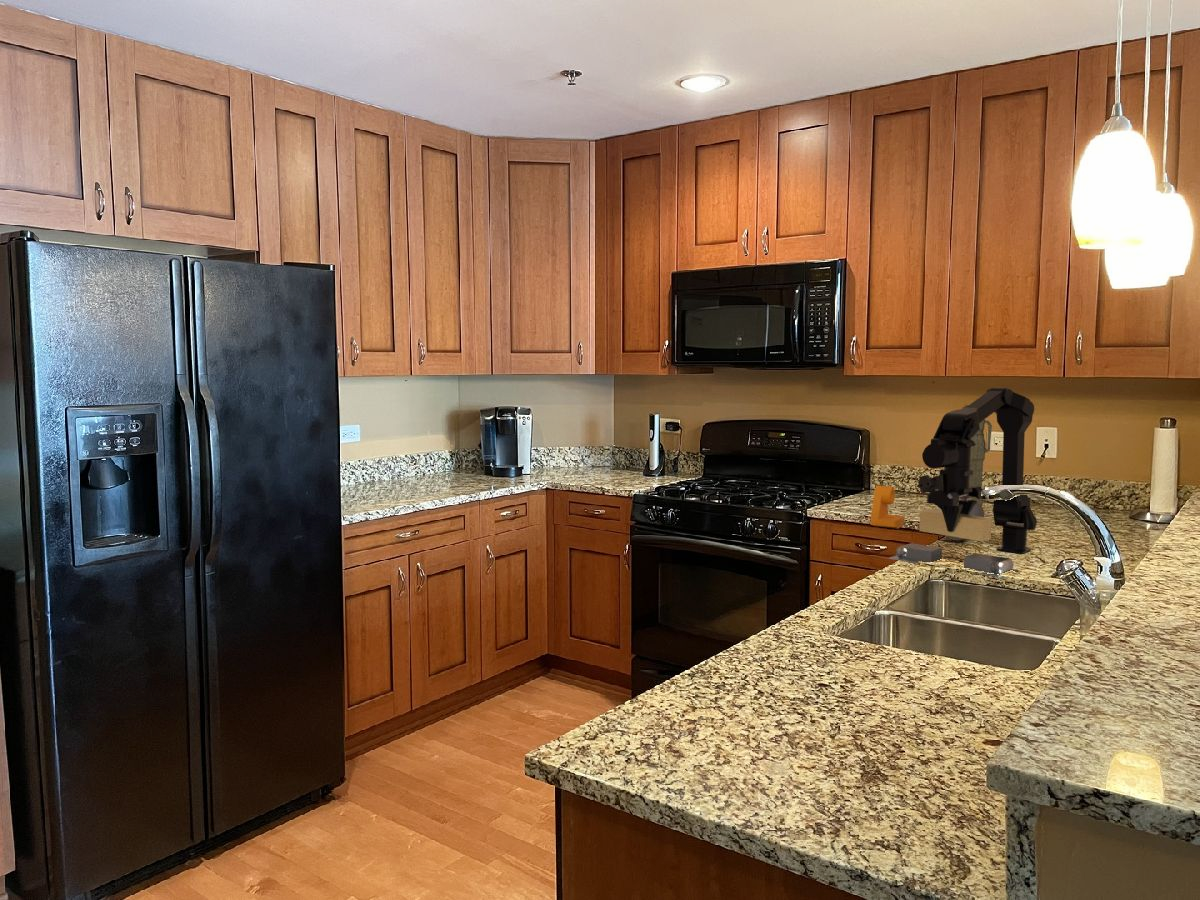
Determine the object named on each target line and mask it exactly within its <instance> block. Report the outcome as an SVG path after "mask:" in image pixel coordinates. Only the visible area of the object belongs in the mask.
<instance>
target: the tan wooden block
mask: <svg viewBox="0 0 1200 900" xmlns="http://www.w3.org/2000/svg"><path fill="white" fill-rule="evenodd" d="M992 519H993V518H991V517H988V516H987V517H986V516H984V517H980V516H973V515H966V514H960V515H959V517H958V520H957V523H956V525H955V528H954V530H953V532H948V530H947V527H946V523H945V519H944V516H943V513H942V510H938V509H937V510H936V509H931V508H929V509H928V508H927V509H923V510H920V511H919V532H923V533H930V534H935V535H936V534H937V535H941V536H942V535H943V536H945V535H947V536H953V537H959V538H965V539H967V540H971V541H976V542H986V541H989V540H991V539H992V537H991V536H992V535H991V534H992Z"/></svg>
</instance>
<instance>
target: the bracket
mask: <svg viewBox="0 0 1200 900" xmlns="http://www.w3.org/2000/svg"><path fill="white" fill-rule="evenodd" d="M895 497H896V489H895V486H891V485H890V486H888V485H876V486H875V488H874V493H873V500H872V508H871V512H870V513H871V515H870V525H871V526H872V527H878V528H879V527H880V528H888V529H896V530H897V529H901V527H903V526H904V525H903V524H904V523H905V515H898V514H889V506H888V505H894V504H895V503H894V502H895V499H896V498H895Z"/></svg>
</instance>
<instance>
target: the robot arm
mask: <svg viewBox="0 0 1200 900" xmlns="http://www.w3.org/2000/svg"><path fill="white" fill-rule="evenodd" d="M962 408H963V407H962ZM962 408H959V409H955V410H952V411H949V412H946V413H945V414H944V415H943V416H942V418H941V420H940V422H939V425H938V427H937V429H936V431H935V433H934V435H933V438H931V439H930V444H928V445H926V446H925V448H924V450H923V452H922V454H921V456H922V457H921V458H922V460H923V461H922V462H923V463H924V464H925V466H926V467H928V468H930V469H940V470H939V475H938V476H934V477H931V476H930V475H928V474H925V475H922V476H919V479H918V481H917V488H918V489H920V490H921V493H922V494H923V495H924V494H926V493H927V494H926V503H927V504H931V505H934V506H936V507H937V508H939V509H940V511H942V513H943V516H944V519H945V523H946V527H947V530H948V532H953V530H954V528H955V525H956V523H957V520H958V517H959V515H960V514H966V515H969V514H970V512H971V510H972V509H973V507H974V505H975V504H976V503H977V501H975V500H971V497H976V498H977V499H981V498H982V496H981V490H982V489H983V487H982V488H981V487H980V486H971V485H969V482H970V475H973V470H970V460H971V446H975V445H976V444H975V442H974V441H972V440H971V438H972V437H973V436H974V435H975V434H976V433H977V431H978V430H979V429H980V423H981V422H982V421H983V420H984V419H985V420H986V419H987V418H988V417H990V416H991V415H993V414H996V423H997V424H998V426H999V427H1000V429H1001V431H1002V433H1003V435H1002V438H1003V440H1002V442H1003V443H1002V473H1001V474H1002V475H1001V486H1002V485H1023V486H1024V467H1025V466H1024V465H1025V437H1026V436H1025V434H1026V431H1027V430H1028V428H1029V427H1030V426H1031V424H1032V423H1033V415H1034V412H1035V405H1034V403H1033V402H1032V401H1031V399H1029V397H1026V396H1025V395H1021V394H1019V393H1016V392H1014V391H1013V390H1012V389H1011V388H1008V387H990V388H988V389H987V390H986V392H985V393H983V394H982V395H981V396H979V397H978V398H976V400H974V401H973V402H971V403H970V404H969V406H967V407H966V408H963V409H962ZM942 468H943V469H942ZM1030 501H1031V500H1030V498H1029V496H1028V494H1027V495H1020V496H1017V497H1014V498H1013V499H1011V500H1007V501H1005V500H996V501H993V507H992V514H993V521H994V526H995V527H996V526H997V527H998V526H999V527H1002V538H1001V542H1002V543H1001V546H998V547H996V551H999V552H1000V551H1001V552H1007V553H1014V554H1022V555H1023V554H1026V553H1029V552H1031V551H1032V548H1028V547H1027V539H1028V538H1027V536H1028V531H1035V529H1036V527H1037V522H1038V520H1037V518H1036V516H1035V514H1034V512H1033V510H1032V508H1031V502H1030Z"/></svg>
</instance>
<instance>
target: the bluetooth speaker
mask: <svg viewBox="0 0 1200 900" xmlns="http://www.w3.org/2000/svg"><path fill="white" fill-rule="evenodd" d="M969 515H973V516H980V517H985V511H984V508H983V505H982V506H981V505H980V504H979V503H978V502H977V503H976V504H975V505H974V507H973V509H972V510H971V512H970V514H969ZM944 536H945V537H946V538H948V539H950V540H953V541H958V542H965V541H967V540H968V539H965V538H959V537H953V536H947V535H944Z"/></svg>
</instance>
